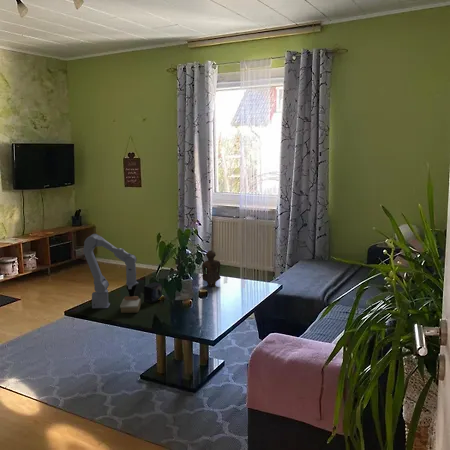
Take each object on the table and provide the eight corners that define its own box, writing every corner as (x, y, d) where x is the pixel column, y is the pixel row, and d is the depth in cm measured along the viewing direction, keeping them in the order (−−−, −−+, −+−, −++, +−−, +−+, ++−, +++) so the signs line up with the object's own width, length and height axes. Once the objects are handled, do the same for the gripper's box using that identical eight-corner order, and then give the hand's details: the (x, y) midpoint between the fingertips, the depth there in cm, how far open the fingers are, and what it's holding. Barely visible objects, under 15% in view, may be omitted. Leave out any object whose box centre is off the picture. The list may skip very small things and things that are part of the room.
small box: (151, 304, 296) (151, 287, 294) (143, 302, 299) (143, 285, 297) (162, 299, 305) (162, 283, 303) (154, 297, 308) (154, 281, 306)
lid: (119, 307, 277) (119, 303, 276) (123, 300, 290) (123, 295, 289) (137, 307, 277) (137, 303, 277) (140, 299, 290) (140, 295, 290)
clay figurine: (218, 283, 339) (218, 248, 335) (222, 287, 330) (222, 251, 325) (200, 284, 336) (200, 249, 331) (204, 288, 326) (204, 252, 322)
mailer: (121, 312, 281) (120, 306, 280) (124, 305, 293) (124, 298, 293) (138, 312, 281) (138, 306, 280) (141, 305, 294) (140, 298, 293)
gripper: (136, 278, 281) (137, 301, 283) (139, 272, 295) (140, 293, 297) (124, 278, 280) (124, 301, 283) (127, 272, 294) (128, 293, 297)
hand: (131, 297), depth 290 cm, fingers closed
